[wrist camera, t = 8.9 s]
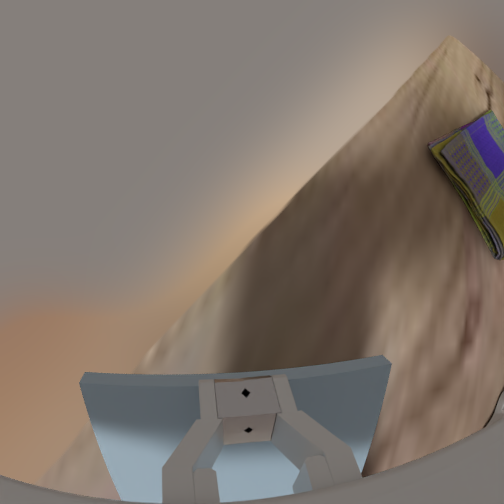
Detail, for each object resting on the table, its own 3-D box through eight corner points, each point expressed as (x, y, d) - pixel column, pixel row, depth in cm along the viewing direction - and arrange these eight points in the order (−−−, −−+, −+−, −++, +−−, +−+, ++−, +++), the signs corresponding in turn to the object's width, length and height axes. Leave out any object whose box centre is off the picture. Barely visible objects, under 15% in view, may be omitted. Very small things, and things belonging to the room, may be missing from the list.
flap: (338, 511, 15) (382, 355, 12) (342, 520, 14) (391, 363, 12) (142, 529, 13) (85, 371, 11) (141, 539, 12) (79, 382, 10)
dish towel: (539, 197, 38) (550, 191, 36) (492, 269, 32) (507, 264, 29) (485, 114, 41) (494, 105, 39) (416, 150, 35) (428, 138, 32)
